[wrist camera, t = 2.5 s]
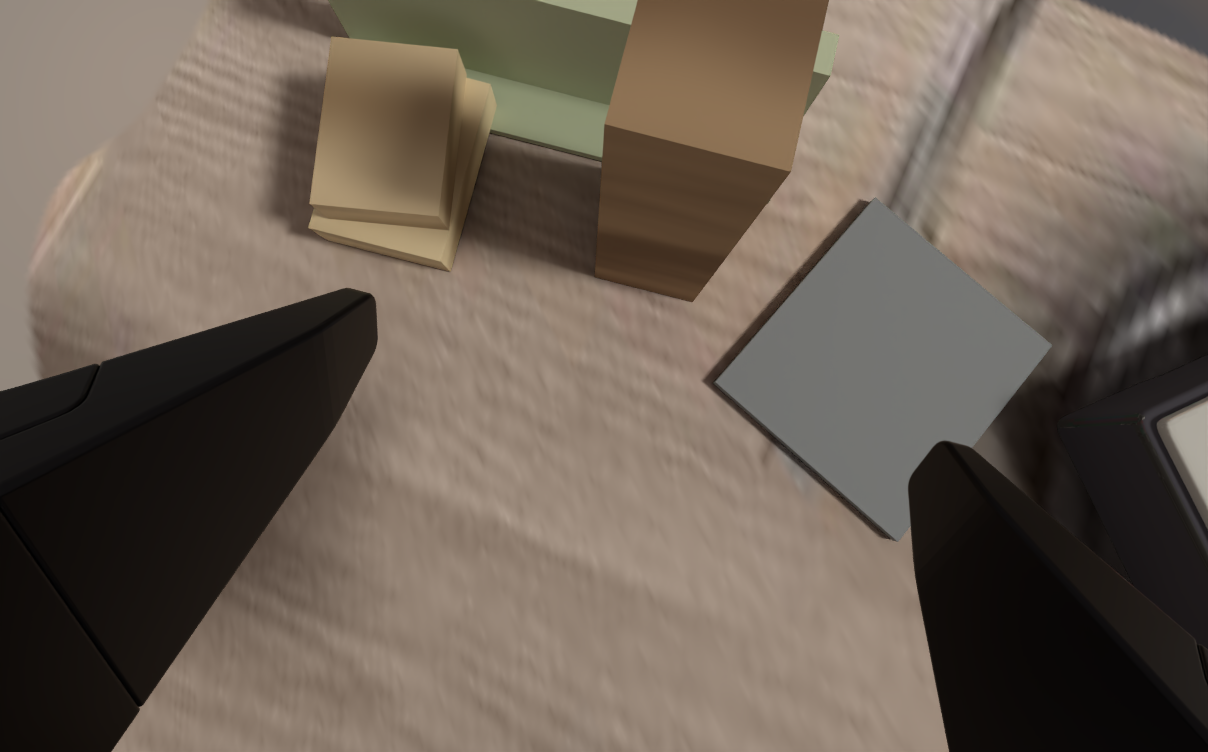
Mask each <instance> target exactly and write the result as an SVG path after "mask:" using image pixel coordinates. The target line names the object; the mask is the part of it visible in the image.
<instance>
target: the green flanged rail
mask: <svg viewBox="0 0 1208 752" xmlns="http://www.w3.org/2000/svg"><path fill="white" fill-rule="evenodd" d="M328 1H329V3H330V5H331V6H332V8H333V10H334V12H335V13H336V15H337V17H338V19H339V20H340V22H341V24H342V26H343V27H344V29H345V31H346V33H347V34H348V36H349V38H352V39H362V40H371V41H381V42H391V43H401V44H411V45H421V46H431V47H441V48H450V49H458V51H459V54H460V57H461V60H462V63H463V65H464V68H465V71H466V74H467V77H466V78H470V79H474V80H477V81H481V82H485V83H489V84H491V87H492V90H493V94H494V97H495V100H496V104H497V107H496V111H495V114H494V118H493V121H492V125H491V129H490V132H489V133H493V134H497V135H501V136H505V137H509V138H513V139H517V140H520V141H524V142H528V143H532V144H536V145H540V146H544V147H548V148H552V149H556V150H560V151H564V152H567V153H571V154H575V155H579V156H583V157H587V158H591V159H595V160H599V161H602V154H603V139H604V124H605V120H606V116H607V113H608V109H609V105H610V102H611V98H612V94H613V90H614V87H615V83H616V79H617V75H618V72H619V68H620V64H621V61H622V57H623V53H624V49H625V46H626V42H627V38H628V34H629V31H630V27H631V23H632V20H633V16H634V12H635V8H636V5H637V1H638V0H328ZM838 38H839V35H838V34H834V33H830V32H826V31H823V30H822V33H821V38H820V43H819V47H818V52H817V56H816V61H815V65H814V70H813V74H812V79H811V83H810V88H809V92H808V97H807V101H806V106H805V110H804V115H805V113H806V112H807V110H808V109H809V107H810V106H811V104H812V103H813V101H814V100H815V98H816V97H817V95H818V94H819V92H820V91H821V89H822V88H823V86H824V85H825V83H826V82H827V80H828V79H829V77H830V75H831V71H832V66H833V61H834V57H835V52H836V48H837V43H838ZM804 115H803V116H804ZM769 201H770V200H769ZM769 201H768V203H769ZM768 203H767V204H768Z"/></svg>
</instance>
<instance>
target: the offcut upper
mask: <svg viewBox="0 0 1208 752" xmlns="http://www.w3.org/2000/svg"><path fill="white" fill-rule="evenodd" d="M466 77H467V74H466V71H465V68H464V65H463V63H462V60H461V57H460V54H459V51H458V49H450V48H441V47H431V46H421V45H411V44H401V43H391V42H381V41H371V40H362V39H352V38H342V37H332V36H331V43H330V51H329V59H328V66H327V74H326V81H325V89H324V97H323V104H322V112H321V119H320V127H319V134H318V142H317V150H316V157H315V165H314V172H313V180H312V188H311V195H310V203H309V204H310V205H312V206H313V207H314V208H315V209H317V210H318V211H319V212H321V213H322V214H323V215H325V216H326V217H327V218H329V219H336V220H346V221H357V222H367V223H378V224H388V225H398V226H409V227H419V228H429V229H440V230H449V227H450V218H451V210H452V201H453V192H454V183H455V174H456V165H457V157H458V148H459V139H460V130H461V121H462V113H463V104H464V95H465V86H466Z"/></svg>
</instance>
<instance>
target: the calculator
mask: <svg viewBox="0 0 1208 752" xmlns="http://www.w3.org/2000/svg"><path fill="white" fill-rule="evenodd" d="M1057 430H1058V433H1059V435H1060V437H1061V439H1062V441H1063V443H1064V445H1065V447H1066V449H1067V451H1068V454H1069V456H1070V458H1071V460H1072V462H1073V464H1074V466H1075V468H1076V470H1077V472H1078V474H1079V476H1080V478H1081V480H1082V482H1083V484H1084V486H1085V488H1086V490H1087V492H1088V494H1089V496H1090V498H1091V500H1092V502H1093V504H1094V506H1095V508H1096V510H1097V512H1098V515H1099V517H1100V519H1101V521H1102V523H1103V525H1104V527H1105V529H1106V531H1107V533H1108V535H1109V537H1110V539H1111V541H1112V543H1113V545H1114V547H1115V549H1116V551H1117V553H1118V555H1119V557H1120V559H1121V561H1122V563H1123V565H1124V567H1125V569H1126V571H1127V573H1128V575H1129V578H1130V580H1131V582H1132V584H1133V586H1134V587H1135V588H1136V589H1137V590H1138V591H1140V592H1141V593H1142V594H1143V595H1144V596H1145V597H1147V598H1148V599H1149V600H1150V601H1151V602H1152V603H1154V604H1155V605H1156V606H1157V607H1158V608H1159V609H1161V610H1162V611H1163V612H1164V613H1165V614H1166V615H1168V616H1169V617H1170V618H1171V619H1172V620H1173V621H1175V622H1176V623H1177V624H1178V625H1179V626H1181V627H1182V628H1183V629H1184V630H1185V631H1186V632H1188V633H1189V634H1190V635H1191V636H1192V637H1193V638H1194V639H1195V640H1196V643H1197V644H1201V645H1203V646H1204V647H1205V648H1206V649H1208V355H1206V356H1203V357H1201V358H1199V359H1197V360H1195V361H1192V362H1190V363H1188V364H1186V365H1184V366H1182V367H1179V368H1177V369H1175V370H1173V371H1171V372H1169V373H1166V374H1164V375H1162V376H1159V377H1157V378H1153V379H1150V380H1147V381H1144V382H1141V383H1139V384H1136V385H1134V386H1132V387H1130V388H1127V389H1125V390H1123V391H1120V392H1118V393H1116V394H1114V395H1111V396H1109V397H1107V398H1105V399H1102V400H1100V401H1098V402H1095V403H1093V404H1091V405H1089V406H1086V407H1084V408H1082V409H1080V410H1077V411H1075V412H1073V413H1070V414H1068V415H1066V416H1064V417H1062V418H1061V419H1060V420H1059V421H1058V424H1057Z"/></svg>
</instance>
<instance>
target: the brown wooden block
mask: <svg viewBox="0 0 1208 752" xmlns="http://www.w3.org/2000/svg"><path fill="white" fill-rule="evenodd" d="M828 2H829V0H638V1H637V5H636V8H635V12H634V16H633V20H632V23H631V27H630V31H629V34H628V38H627V42H626V46H625V49H624V53H623V57H622V61H621V64H620V68H619V72H618V75H617V79H616V83H615V87H614V90H613V94H612V98H611V102H610V105H609V109H608V113H607V116H606V120H605V124H604V139H603V154H602V170H601V185H600V201H599V216H598V232H597V247H596V263H595V277H596V278H600V279H604V280H608V281H612V282H616V283H620V284H624V285H627V286H631V287H635V288H639V289H643V290H647V291H651V292H655V293H659V294H663V295H667V296H671V297H675V298H679V299H682V300H686V301H690V302H693V301H694V300H695V298H696V297H697V296H698V294H699V293H700V292H701V290H702V289H703V288H704V286H705V285H706V284H707V282H708V281H709V280H710V278H711V277H712V276H713V274H714V273H715V272H716V270H717V269H718V268H719V266H720V265H721V264H722V262H723V261H724V260H725V258H726V257H727V256H728V255H729V253H730V252H731V251H732V249H733V248H734V247H735V245H736V244H737V243H738V241H739V240H740V239H741V237H742V236H743V235H744V233H745V232H746V231H747V229H748V228H749V227H750V225H751V224H752V223H753V221H754V220H755V219H756V217H757V216H758V215H759V213H760V212H761V211H762V209H763V208H764V207H765V205H766V204H767V203H768V201H769V200H770V199H771V197H772V196H773V195H774V193H775V192H776V191H777V189H778V188H779V187H780V185H781V184H782V183H783V182H784V180H785V179H786V178H787V176H788V175H789V174H790V172H791V169H792V164H793V160H794V155H795V151H796V146H797V142H798V137H799V133H800V128H801V124H802V119H803V115H804V110H805V106H806V101H807V97H808V92H809V88H810V83H811V79H812V74H813V70H814V65H815V61H816V56H817V52H818V47H819V43H820V38H821V33H822V29H823V24H824V20H825V15H826V11H827V6H828Z"/></svg>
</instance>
